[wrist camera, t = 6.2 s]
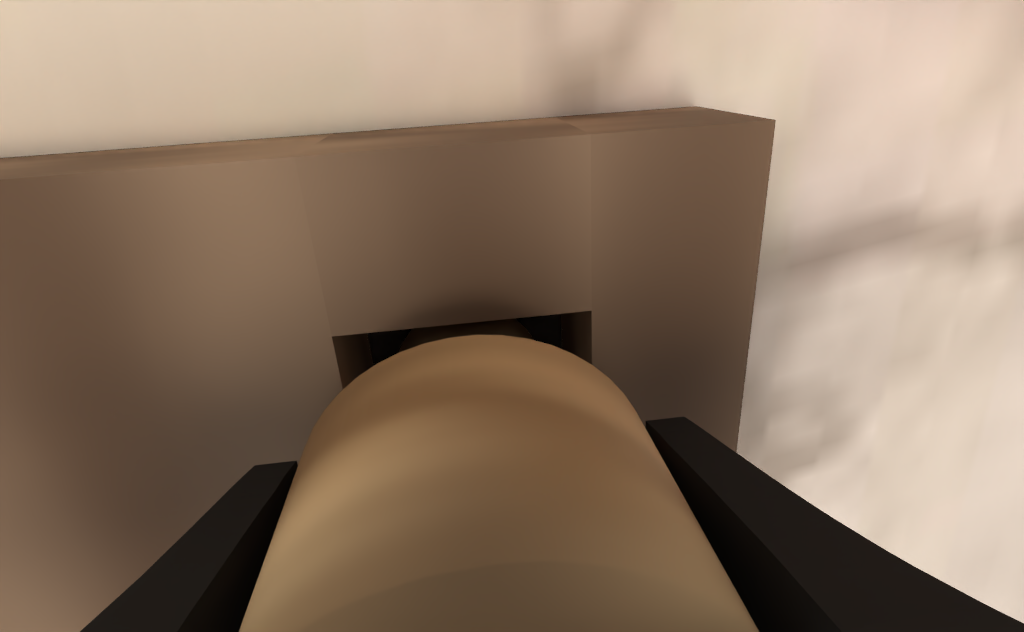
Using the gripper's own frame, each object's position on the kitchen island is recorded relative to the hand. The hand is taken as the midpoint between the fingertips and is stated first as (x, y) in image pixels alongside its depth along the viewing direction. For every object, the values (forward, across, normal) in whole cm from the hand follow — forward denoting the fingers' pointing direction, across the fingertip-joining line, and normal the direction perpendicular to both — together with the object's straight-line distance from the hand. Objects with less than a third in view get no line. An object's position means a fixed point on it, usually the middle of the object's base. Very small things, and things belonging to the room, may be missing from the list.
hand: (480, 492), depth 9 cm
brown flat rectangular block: (+5, +3, 0) cm, 5 cm away
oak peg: (+3, 0, 0) cm, 3 cm away
